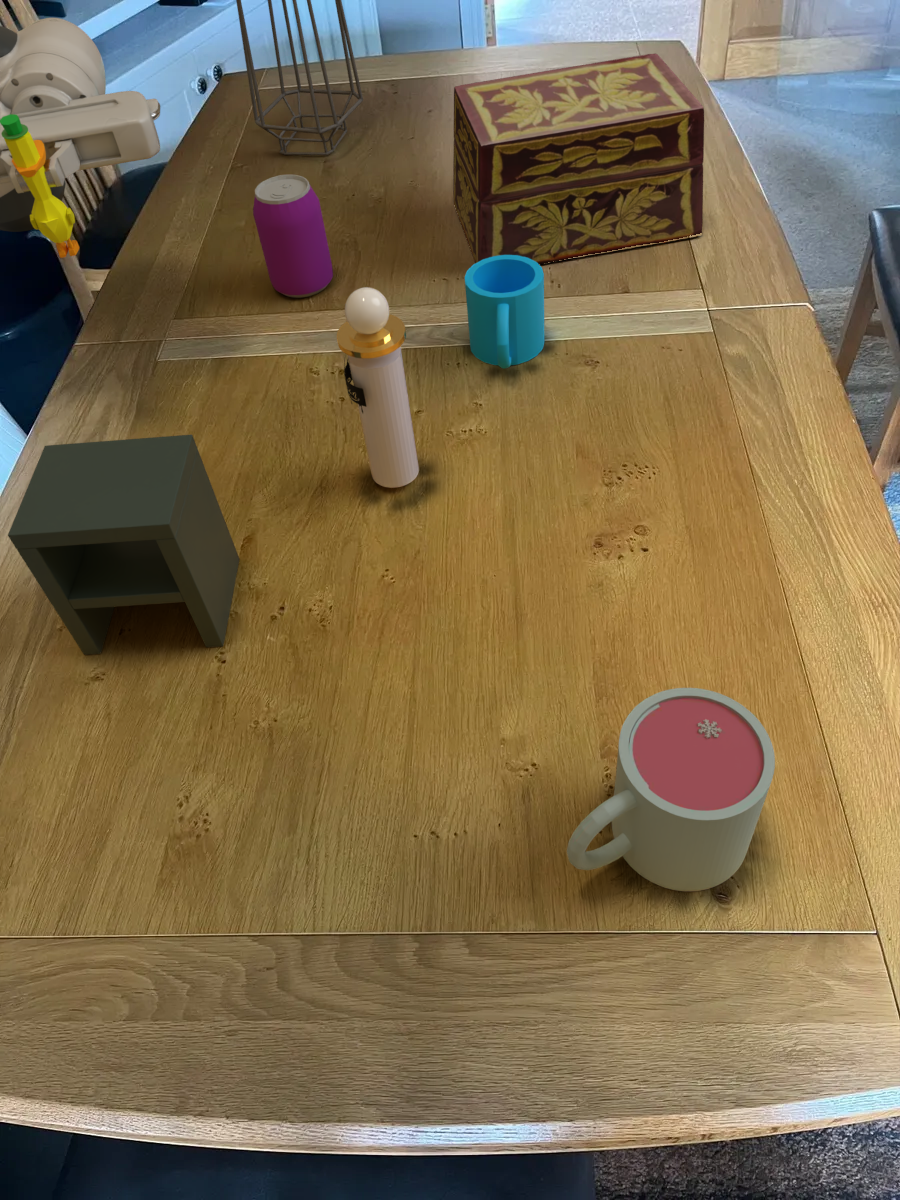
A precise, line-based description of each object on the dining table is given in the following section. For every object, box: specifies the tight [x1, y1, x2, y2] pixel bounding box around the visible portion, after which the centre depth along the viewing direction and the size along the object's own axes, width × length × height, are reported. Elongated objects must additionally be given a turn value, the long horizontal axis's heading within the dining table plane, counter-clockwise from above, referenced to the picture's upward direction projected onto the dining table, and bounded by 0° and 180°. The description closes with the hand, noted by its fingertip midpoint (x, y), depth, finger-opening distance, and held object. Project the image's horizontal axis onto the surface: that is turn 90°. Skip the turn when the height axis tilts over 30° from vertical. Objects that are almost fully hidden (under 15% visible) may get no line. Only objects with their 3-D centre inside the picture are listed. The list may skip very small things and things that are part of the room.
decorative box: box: [452, 53, 705, 265], centre depth 113 cm, size 28×19×15 cm
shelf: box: [7, 434, 240, 656], centre depth 76 cm, size 12×10×14 cm
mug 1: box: [464, 255, 546, 369], centre depth 98 cm, size 12×8×8 cm
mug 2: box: [566, 687, 776, 892], centre depth 60 cm, size 14×9×10 cm
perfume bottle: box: [336, 286, 420, 489], centre depth 82 cm, size 6×6×20 cm
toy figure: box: [0, 114, 80, 259], centre depth 81 cm, size 7×4×12 cm, turn 10°
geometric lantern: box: [235, 0, 364, 156], centre depth 126 cm, size 16×16×35 cm
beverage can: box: [252, 174, 334, 299], centre depth 110 cm, size 8×8×12 cm
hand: (35, 181), depth 79 cm, fingers closed on toy figure
